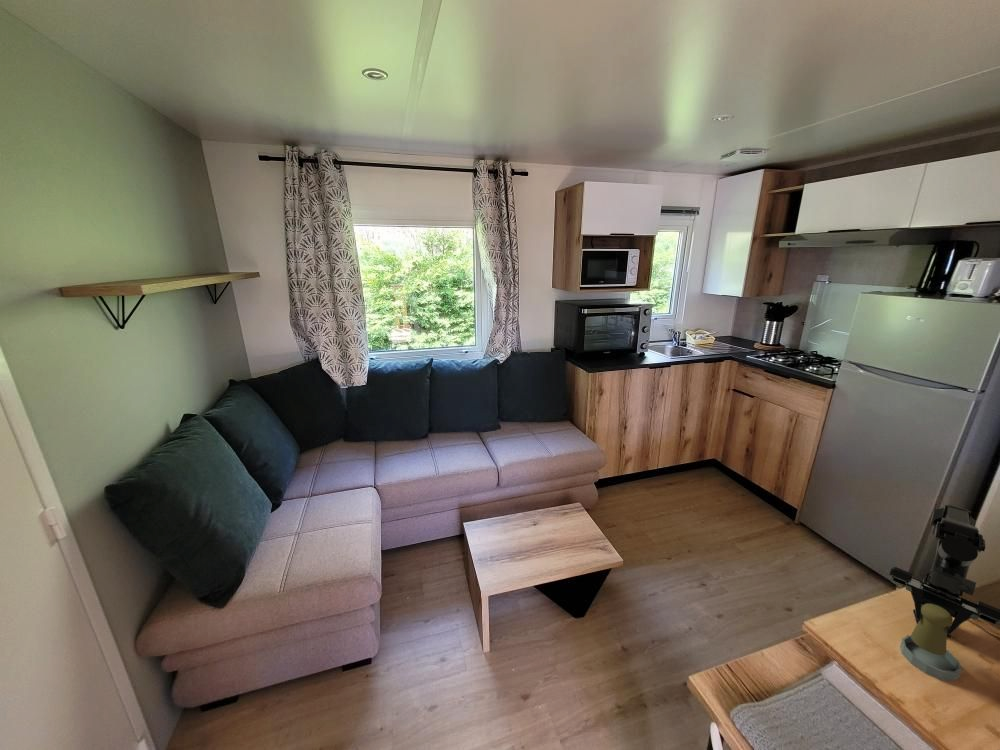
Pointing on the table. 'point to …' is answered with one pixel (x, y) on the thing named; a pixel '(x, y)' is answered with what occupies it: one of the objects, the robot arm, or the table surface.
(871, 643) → the table surface
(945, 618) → the cork
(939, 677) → the gray bowl
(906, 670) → the table surface
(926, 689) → the table surface
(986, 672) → the table surface
